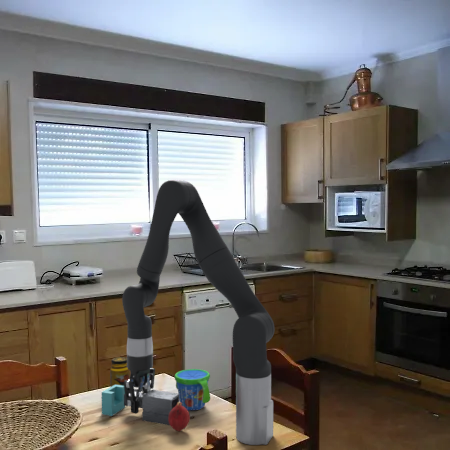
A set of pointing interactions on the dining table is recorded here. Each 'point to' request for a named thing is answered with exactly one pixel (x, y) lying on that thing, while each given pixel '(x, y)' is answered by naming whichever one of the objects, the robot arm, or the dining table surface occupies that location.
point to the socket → (113, 400)
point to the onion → (179, 417)
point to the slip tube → (128, 402)
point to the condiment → (119, 371)
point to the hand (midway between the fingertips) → (140, 408)
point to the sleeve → (158, 406)
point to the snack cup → (193, 388)
